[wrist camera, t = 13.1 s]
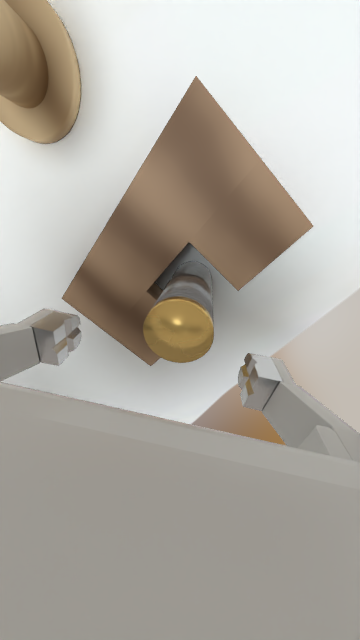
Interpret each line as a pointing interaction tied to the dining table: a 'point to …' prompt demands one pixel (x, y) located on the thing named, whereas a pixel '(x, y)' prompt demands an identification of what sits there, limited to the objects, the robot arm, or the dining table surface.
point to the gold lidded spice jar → (182, 316)
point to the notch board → (185, 220)
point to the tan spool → (37, 72)
